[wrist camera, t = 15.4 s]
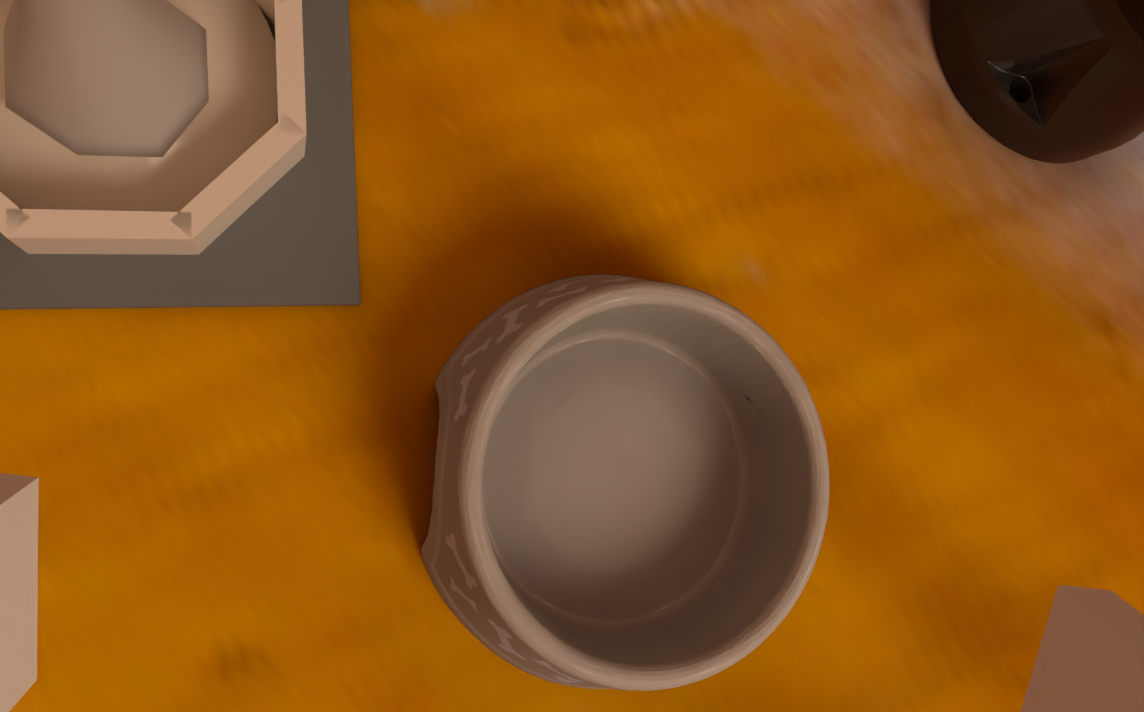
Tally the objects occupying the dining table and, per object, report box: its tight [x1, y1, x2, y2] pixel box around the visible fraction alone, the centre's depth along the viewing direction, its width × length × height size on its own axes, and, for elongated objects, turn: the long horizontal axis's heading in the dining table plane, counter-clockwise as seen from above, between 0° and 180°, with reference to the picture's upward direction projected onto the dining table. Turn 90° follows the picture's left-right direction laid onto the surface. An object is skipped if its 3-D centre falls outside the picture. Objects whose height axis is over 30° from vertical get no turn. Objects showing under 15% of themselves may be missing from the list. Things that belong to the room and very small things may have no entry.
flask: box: [4, 0, 209, 157], centre depth 29 cm, size 7×7×10 cm
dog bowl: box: [421, 274, 829, 691], centre depth 37 cm, size 17×18×5 cm
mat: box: [0, 0, 360, 309], centre depth 34 cm, size 18×15×1 cm
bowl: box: [0, 0, 307, 255], centre depth 33 cm, size 14×14×3 cm
